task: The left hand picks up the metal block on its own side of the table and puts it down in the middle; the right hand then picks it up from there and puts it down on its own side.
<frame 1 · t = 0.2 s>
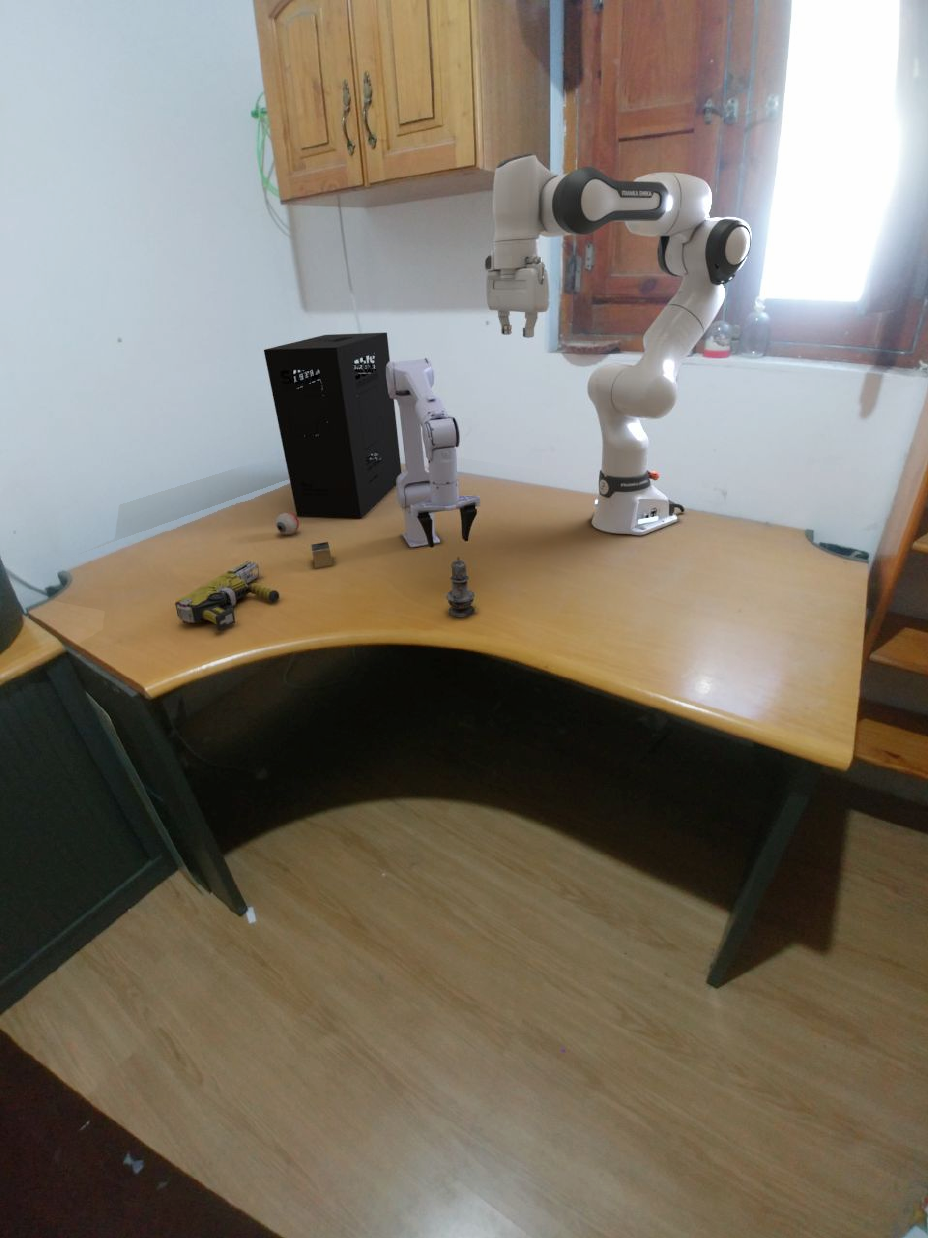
left hand: (448, 542, 129), 10 cm above the table, tool pointing down, fingers open, 7 cm apart
right hand: (517, 335, 125), 48 cm above the table, tool pointing down, fingers open, 8 cm apart
eyeball: (289, 534, 165), on the table
block: (323, 563, 147), on the table
toy gun: (242, 603, 131), on the table
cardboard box: (353, 496, 191), on the table
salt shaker: (461, 611, 123), on the table
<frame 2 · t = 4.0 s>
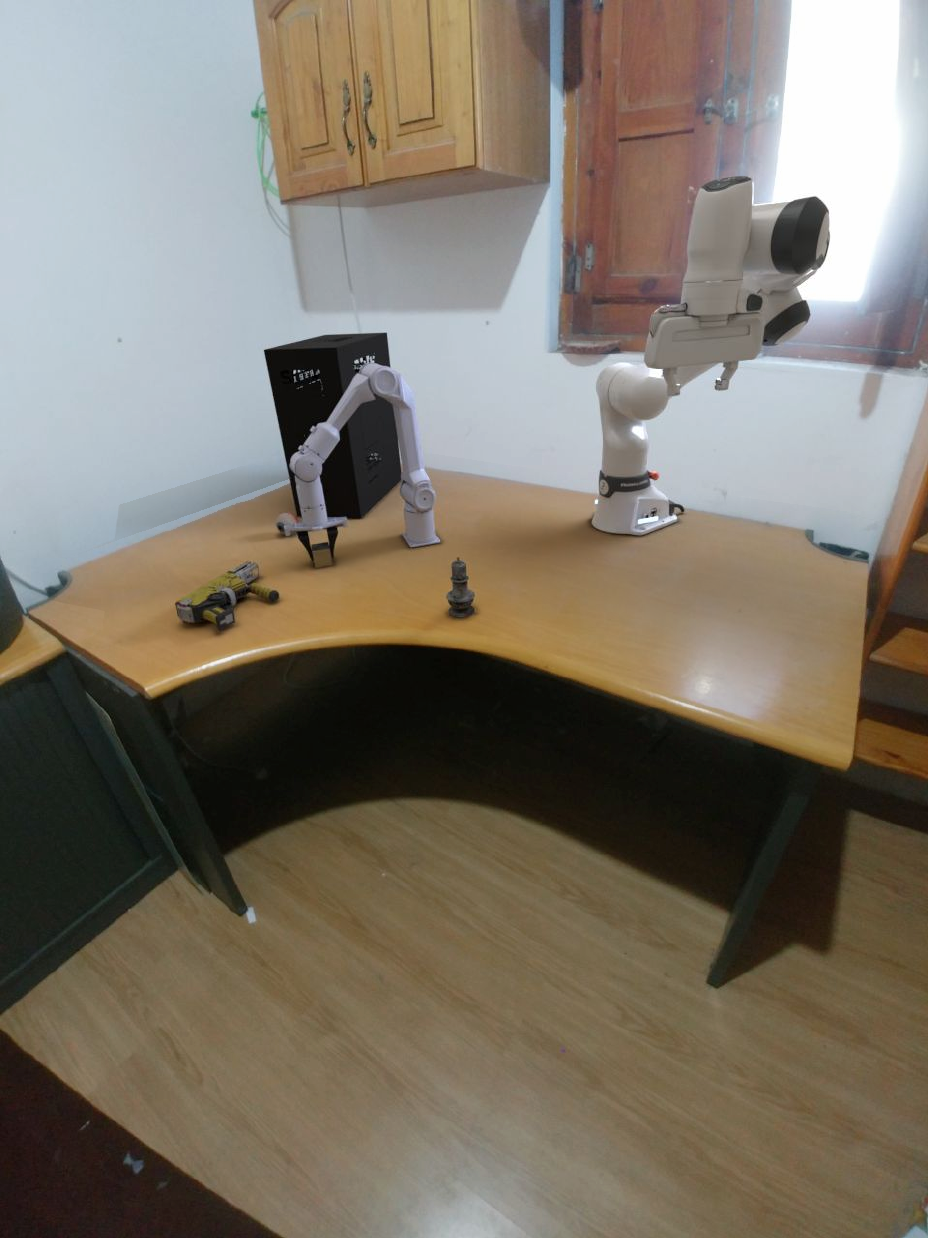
left hand: (322, 558, 147), 1 cm above the table, tool pointing down, fingers closed on block, 4 cm apart
right hand: (697, 392, 103), 40 cm above the table, tool pointing down, fingers open, 8 cm apart
block: (323, 563, 147), on the table, touching left hand
everything else where it was.
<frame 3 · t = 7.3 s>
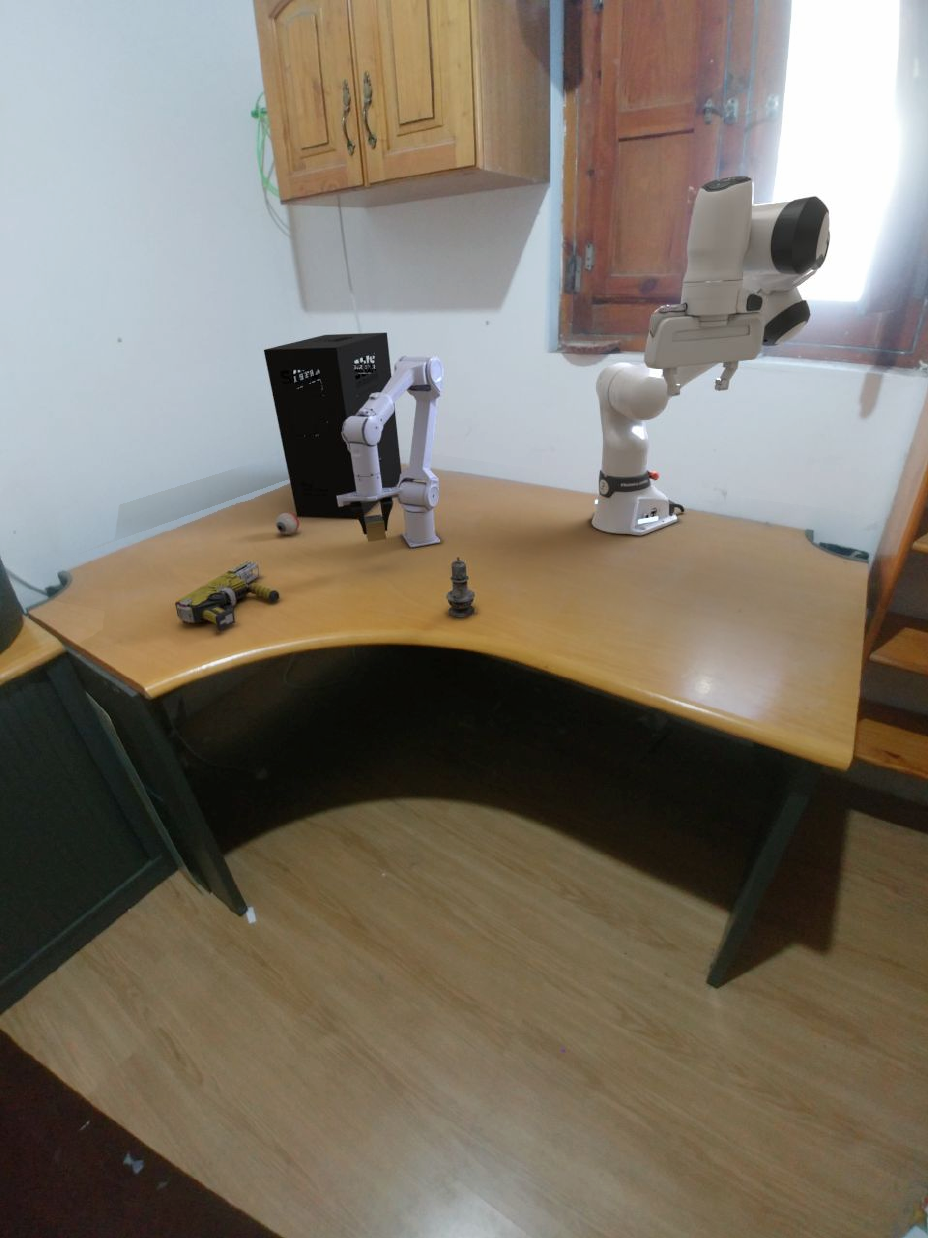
left hand: (374, 531, 138), 9 cm above the table, tool pointing down, fingers closed on block, 4 cm apart
right hand: (697, 392, 103), 40 cm above the table, tool pointing down, fingers open, 8 cm apart
block: (375, 537, 139), point 8 cm above the table, touching left hand
everything else where it was.
when the left hand's fingers open (2 cm above the table, at t = 10.9 s): block stays where it is, on the table.
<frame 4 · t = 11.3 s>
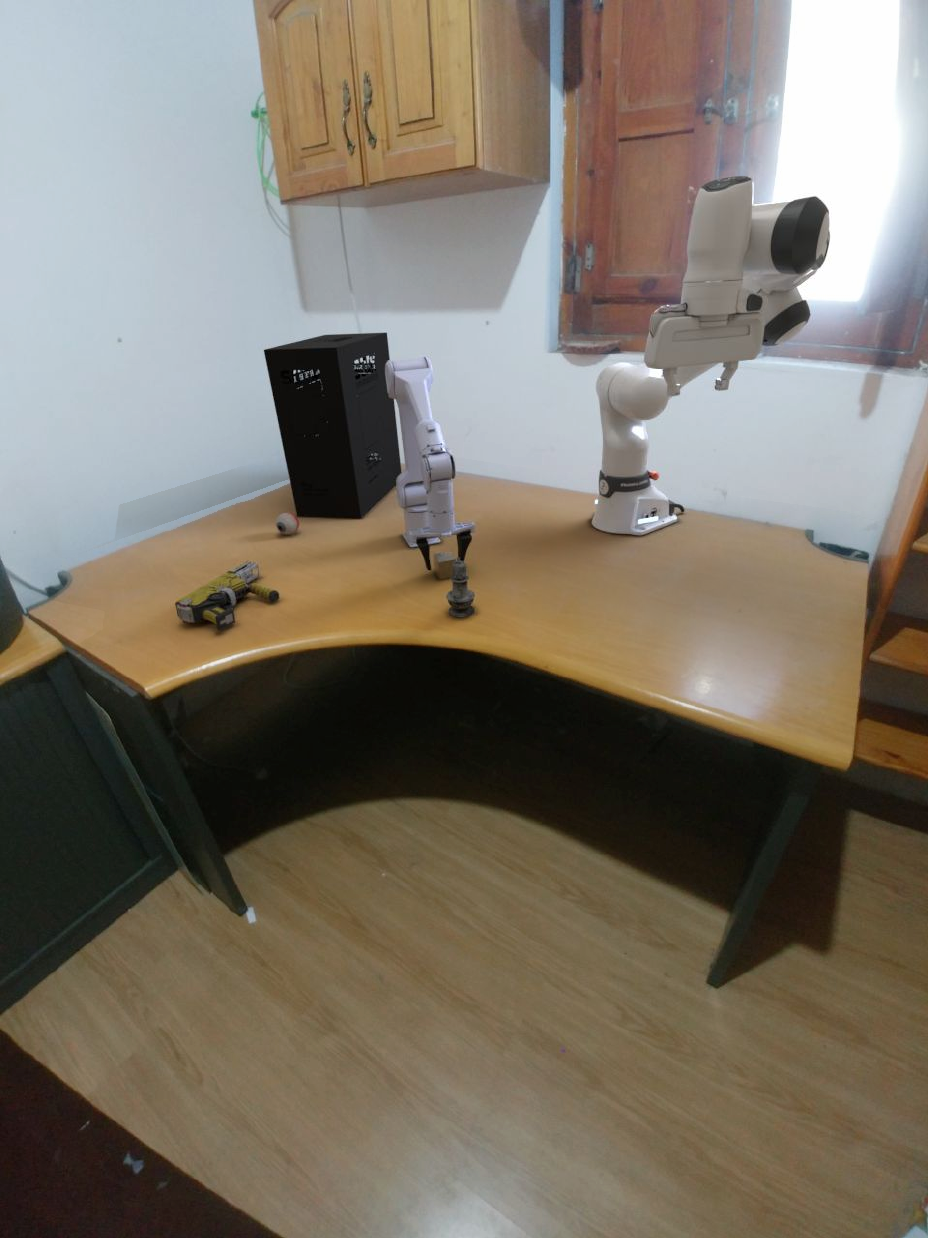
left hand: (445, 565, 137), 2 cm above the table, tool pointing down, fingers open, 7 cm apart
right hand: (697, 392, 103), 40 cm above the table, tool pointing down, fingers open, 8 cm apart
block: (445, 574, 138), on the table
everything else where it was.
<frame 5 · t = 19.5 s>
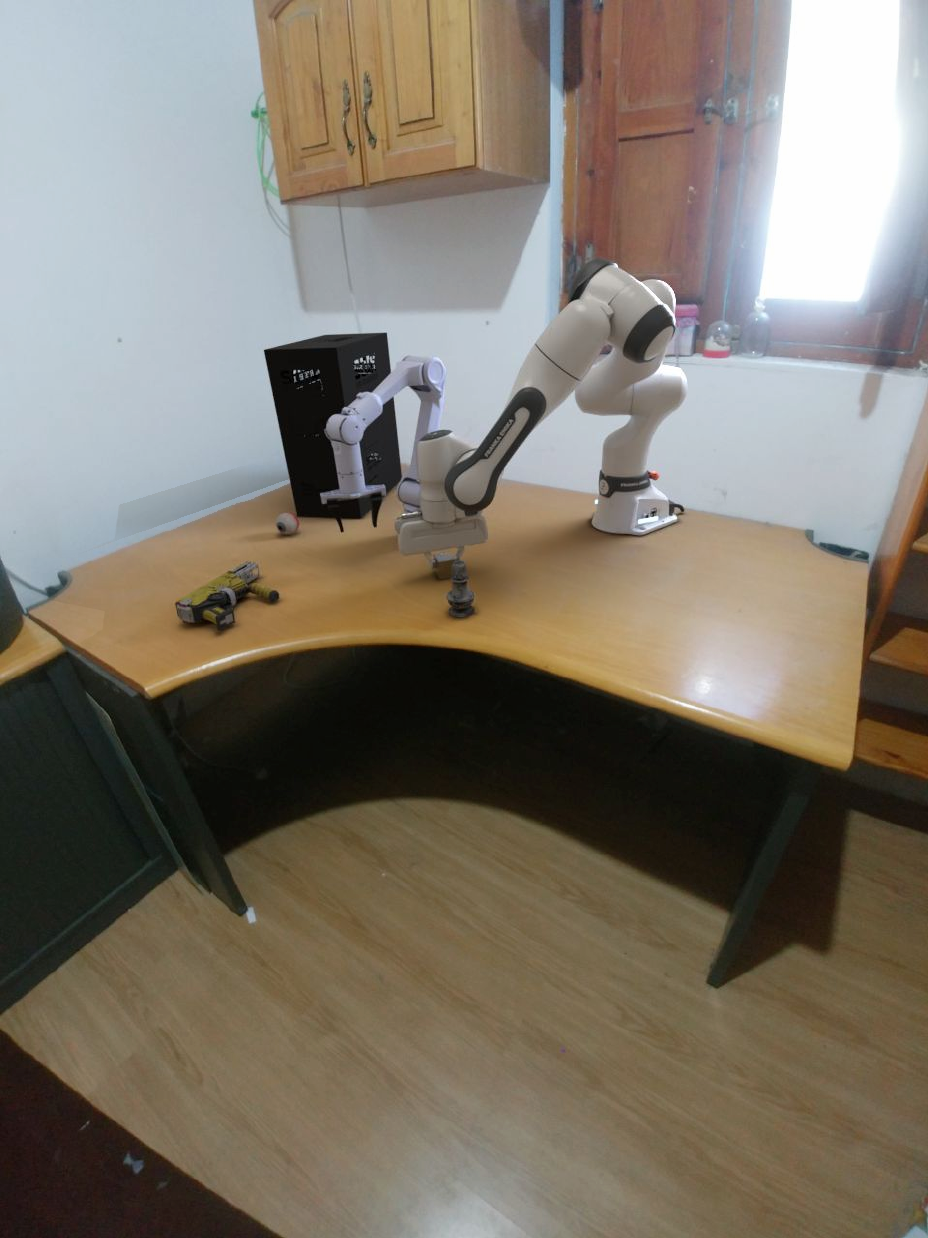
left hand: (358, 528, 141), 9 cm above the table, tool pointing down, fingers open, 7 cm apart
right hand: (445, 565, 137), 2 cm above the table, tool pointing down, fingers closed on block, 4 cm apart
block: (445, 574, 138), on the table, touching right hand
everything else where it was.
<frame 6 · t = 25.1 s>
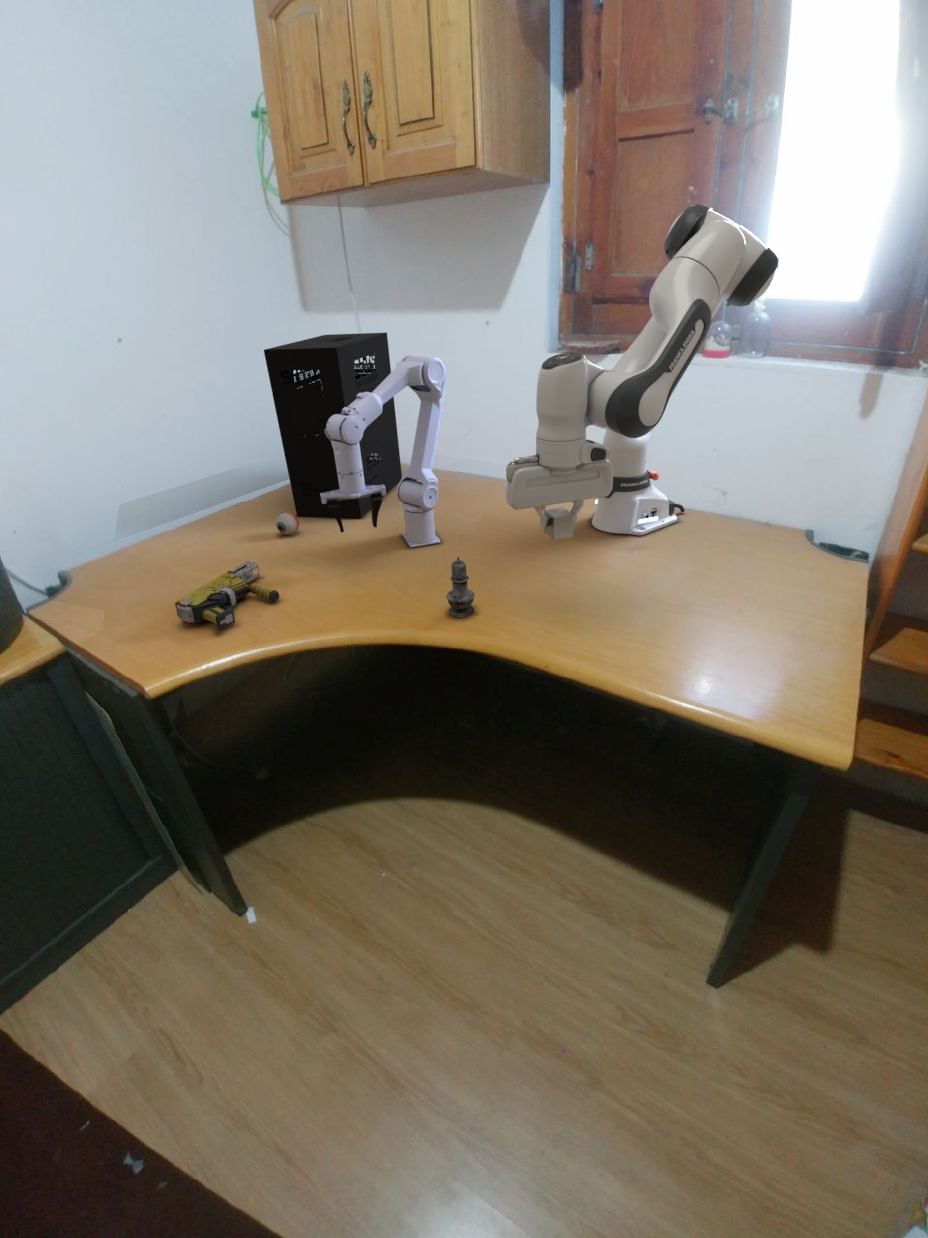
left hand: (358, 528, 141), 9 cm above the table, tool pointing down, fingers open, 7 cm apart
right hand: (558, 523, 116), 17 cm above the table, tool pointing down, fingers closed on block, 4 cm apart
block: (558, 534, 117), point 15 cm above the table, touching right hand
everything else where it was.
when the right hand's fingers open (3 cm above the table, at t = 30.9 s): block stays where it is, on the table.
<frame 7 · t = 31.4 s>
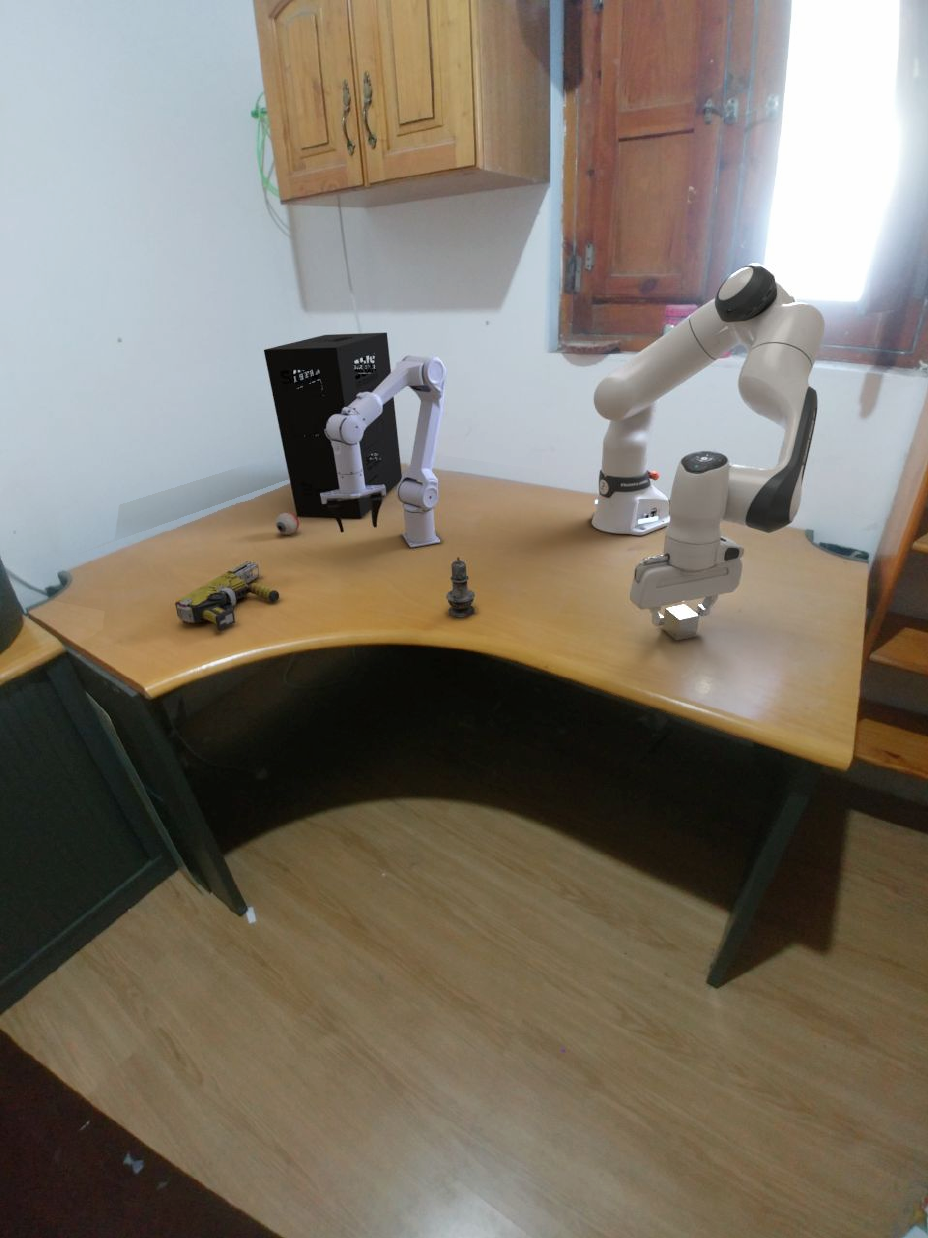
left hand: (358, 528, 141), 9 cm above the table, tool pointing down, fingers open, 7 cm apart
right hand: (680, 619, 110), 3 cm above the table, tool pointing down, fingers open, 8 cm apart
block: (678, 632, 112), on the table
everything else where it was.
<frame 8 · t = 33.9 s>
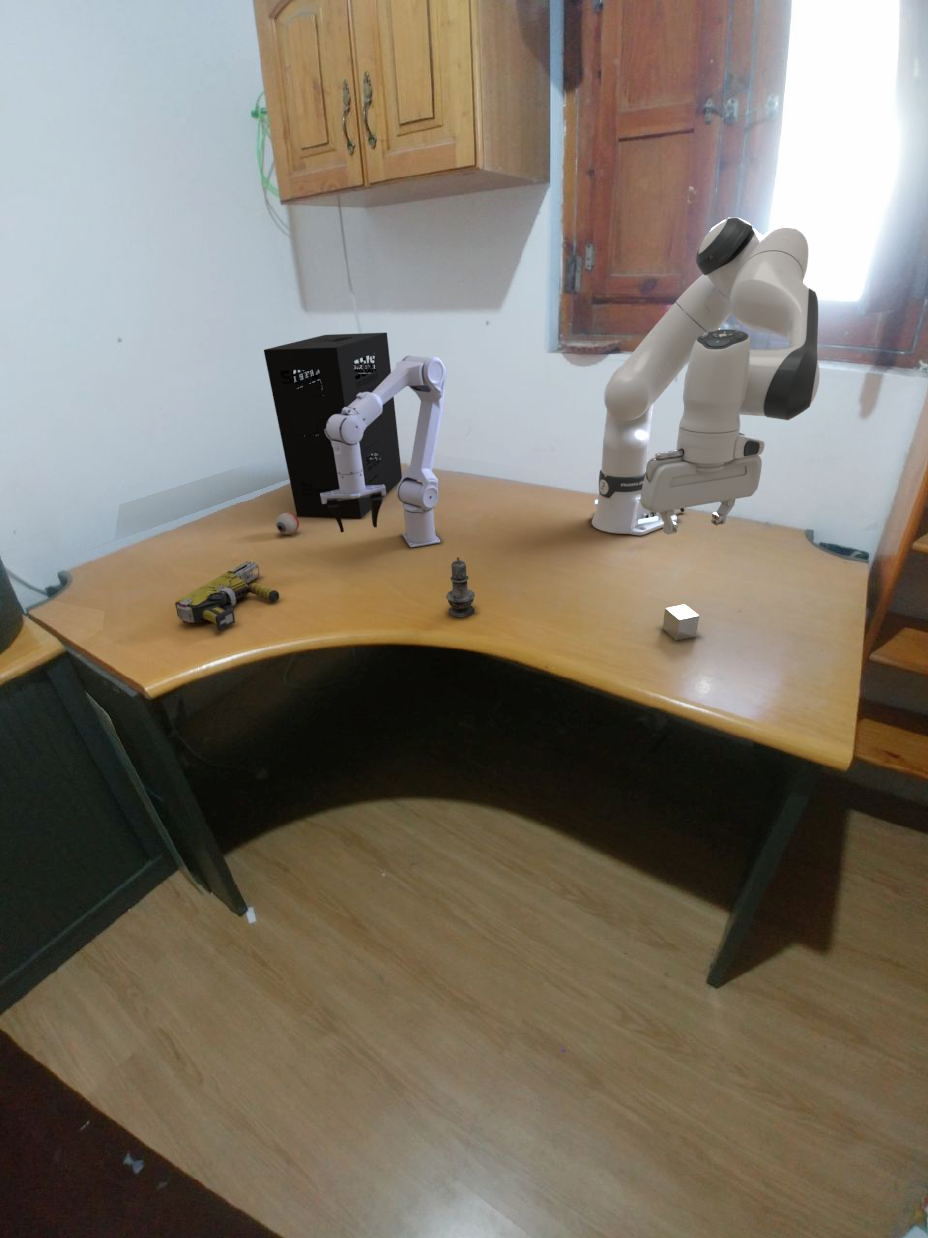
left hand: (358, 528, 141), 9 cm above the table, tool pointing down, fingers open, 7 cm apart
right hand: (694, 528, 101), 21 cm above the table, tool pointing down, fingers open, 8 cm apart
nothing on the table moved.
at the end: block inside the target area (0.1 cm from its centre), on the table; block tilted 0°; the two hands never held the block at the same time; the left hand is holding nothing; the right hand is holding nothing; block at rest at the end (0.0 cm/s) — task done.
